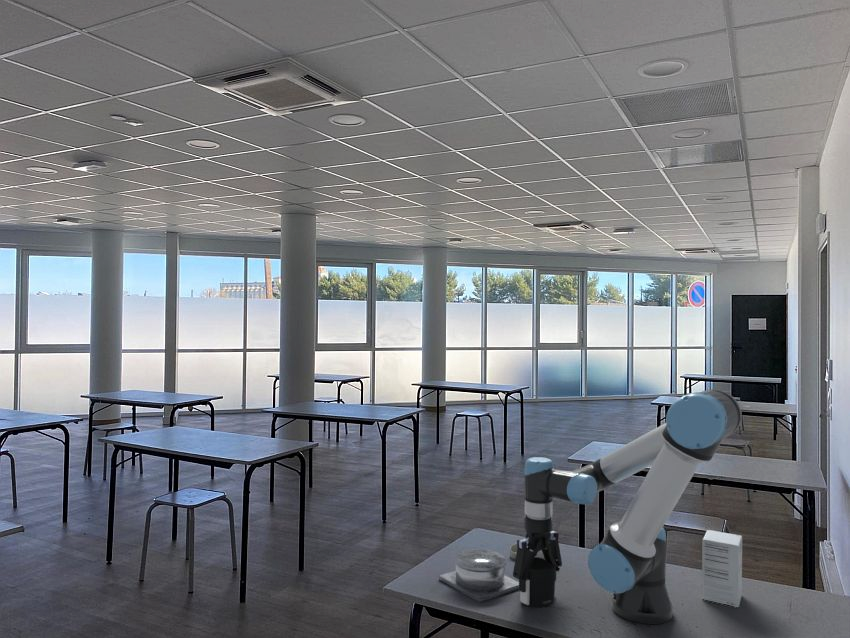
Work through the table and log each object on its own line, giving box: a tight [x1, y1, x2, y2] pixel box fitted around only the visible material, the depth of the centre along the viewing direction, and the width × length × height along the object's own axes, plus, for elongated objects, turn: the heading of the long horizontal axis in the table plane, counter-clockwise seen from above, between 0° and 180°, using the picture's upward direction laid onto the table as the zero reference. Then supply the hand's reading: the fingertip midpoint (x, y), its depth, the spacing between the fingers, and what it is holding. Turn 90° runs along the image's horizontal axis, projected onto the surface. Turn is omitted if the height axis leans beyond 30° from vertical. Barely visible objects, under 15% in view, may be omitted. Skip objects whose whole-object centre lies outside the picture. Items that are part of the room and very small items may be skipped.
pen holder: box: [523, 557, 557, 608], centre depth 169 cm, size 9×9×10 cm
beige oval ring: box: [509, 542, 517, 560], centre depth 201 cm, size 9×6×5 cm
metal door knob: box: [438, 548, 519, 603], centre depth 180 cm, size 18×16×7 cm
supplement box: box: [701, 529, 743, 608], centre depth 172 cm, size 10×9×17 cm
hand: (537, 598), depth 169 cm, fingers closed on pen holder, 9 cm apart
